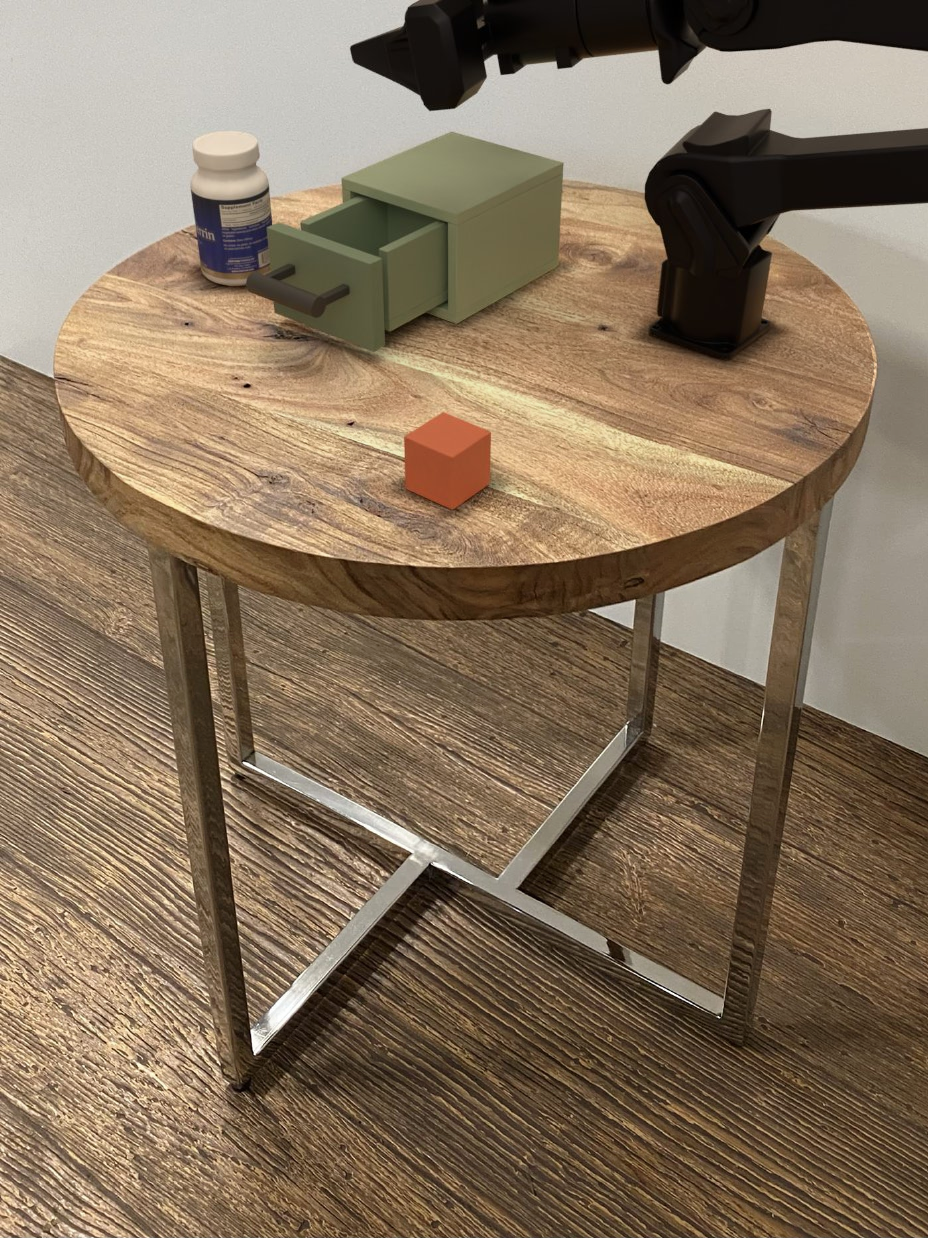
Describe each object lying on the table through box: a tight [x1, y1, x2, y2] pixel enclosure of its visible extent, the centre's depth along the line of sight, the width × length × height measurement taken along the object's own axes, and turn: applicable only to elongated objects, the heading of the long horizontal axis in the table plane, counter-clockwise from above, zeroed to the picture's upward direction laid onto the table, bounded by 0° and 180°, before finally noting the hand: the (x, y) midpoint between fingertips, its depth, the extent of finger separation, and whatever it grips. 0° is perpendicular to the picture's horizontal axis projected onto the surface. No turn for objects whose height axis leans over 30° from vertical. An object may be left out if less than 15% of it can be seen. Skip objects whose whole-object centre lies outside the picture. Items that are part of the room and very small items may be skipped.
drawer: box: [245, 195, 448, 353], centre depth 91 cm, size 15×9×6 cm, turn 142°
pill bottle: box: [190, 130, 274, 287], centre depth 97 cm, size 6×6×10 cm
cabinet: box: [341, 131, 564, 325], centre depth 97 cm, size 13×11×8 cm
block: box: [403, 411, 492, 511], centre depth 76 cm, size 4×4×4 cm
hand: (384, 35), depth 90 cm, fingers open, 9 cm apart
